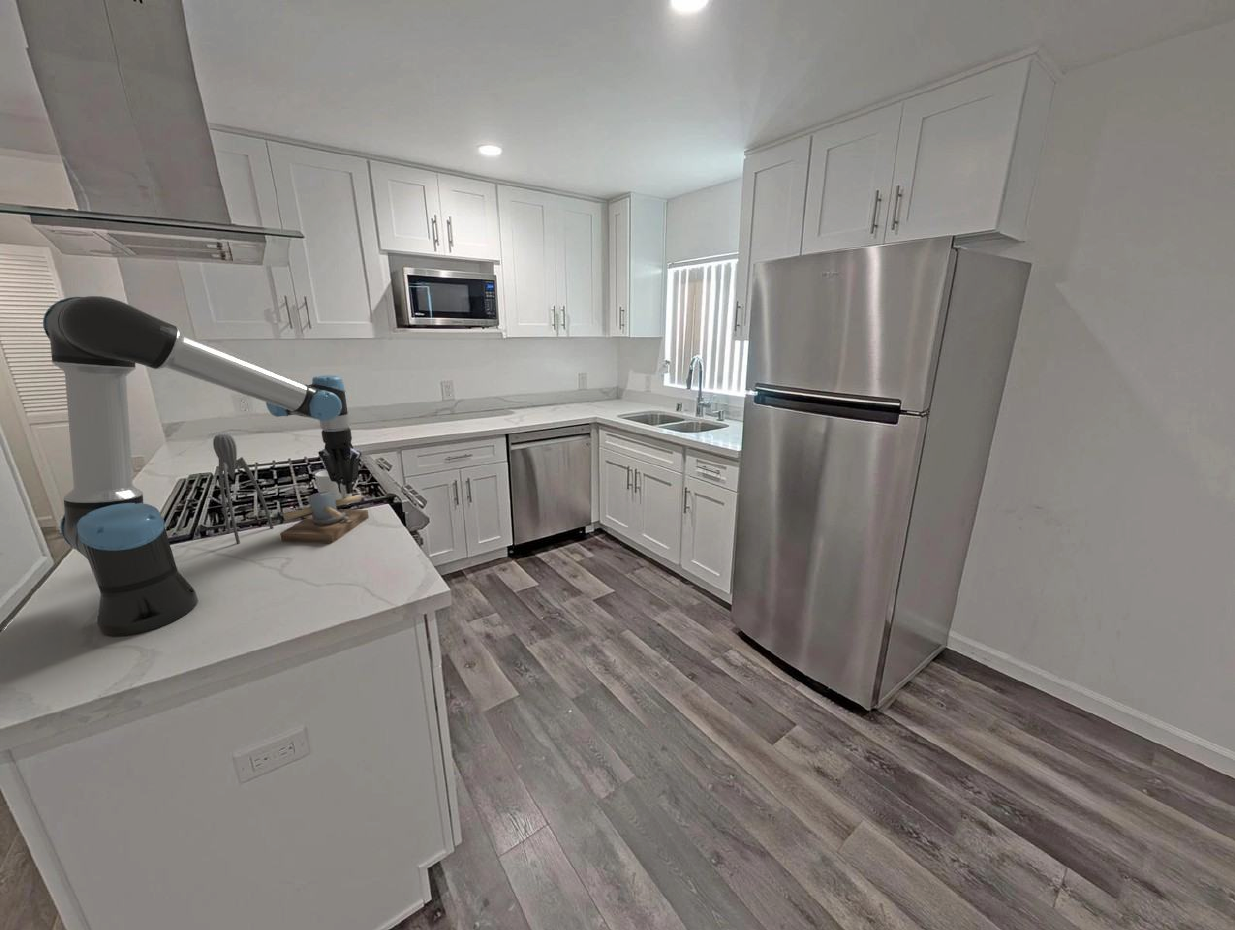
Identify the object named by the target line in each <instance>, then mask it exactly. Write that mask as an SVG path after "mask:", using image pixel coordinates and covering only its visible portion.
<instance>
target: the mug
mask: <svg viewBox="0 0 1235 930" xmlns="http://www.w3.org/2000/svg"><path fill="white" fill-rule="evenodd" d="M334 477H335V476H334ZM314 478H315V479H314V480H315V483H316V489H317V492H318V493H320V492H331V491H332V492H333V493H334V497H335V501H336V500H340V499H342V495H341V493H340V492H339V488H338V484H337V483H336V482H332V481H331V480H330V477H329V475H328V472H327V470H326V469H325V470H320V471H318V472H316V473H314ZM358 482H359V479H357V480H356V481H355V484H354V485H353V486H352V487H353V491H354V490H355V488H356V487H357V486H358Z"/></svg>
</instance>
